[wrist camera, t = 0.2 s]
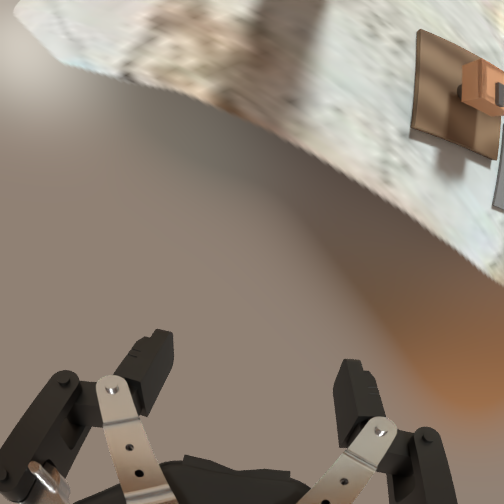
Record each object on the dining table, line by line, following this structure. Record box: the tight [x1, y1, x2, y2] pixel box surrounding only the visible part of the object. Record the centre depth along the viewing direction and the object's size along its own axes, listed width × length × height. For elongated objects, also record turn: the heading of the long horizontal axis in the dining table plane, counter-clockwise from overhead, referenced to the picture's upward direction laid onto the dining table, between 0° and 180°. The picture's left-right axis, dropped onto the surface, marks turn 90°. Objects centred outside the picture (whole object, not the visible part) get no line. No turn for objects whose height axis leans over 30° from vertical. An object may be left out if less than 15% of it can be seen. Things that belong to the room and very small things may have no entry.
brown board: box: [411, 29, 501, 160], centre depth 26 cm, size 16×16×9 cm
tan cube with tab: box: [461, 58, 504, 116], centre depth 23 cm, size 6×6×6 cm
